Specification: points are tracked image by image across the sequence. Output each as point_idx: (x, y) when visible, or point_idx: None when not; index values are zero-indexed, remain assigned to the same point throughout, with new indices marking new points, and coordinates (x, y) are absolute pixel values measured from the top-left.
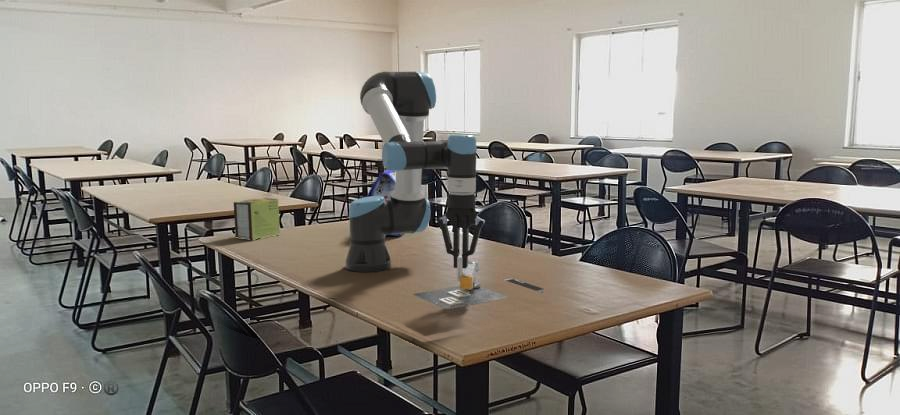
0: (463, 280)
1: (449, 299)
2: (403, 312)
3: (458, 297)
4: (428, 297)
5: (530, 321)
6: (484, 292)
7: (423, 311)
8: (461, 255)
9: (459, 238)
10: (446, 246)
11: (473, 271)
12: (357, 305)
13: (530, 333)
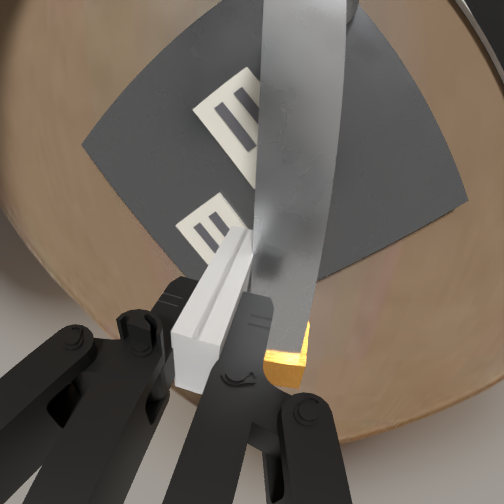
0: None
1: (216, 229)
2: (114, 283)
3: (251, 182)
4: (135, 185)
5: (437, 368)
6: (379, 103)
7: (157, 281)
8: (193, 346)
9: (94, 495)
10: (58, 411)
11: (327, 218)
12: (21, 221)
13: (402, 413)
